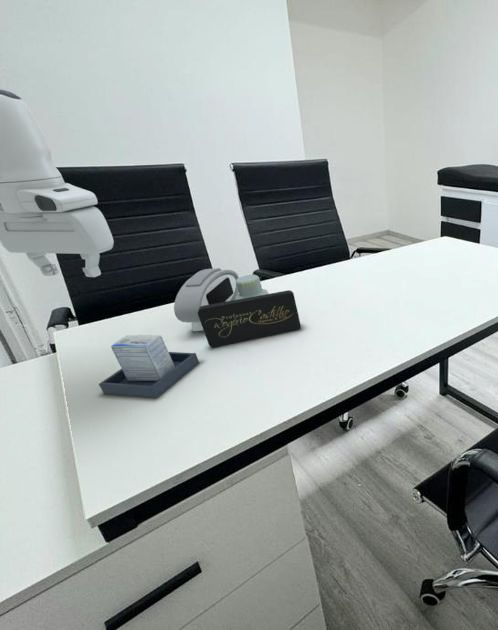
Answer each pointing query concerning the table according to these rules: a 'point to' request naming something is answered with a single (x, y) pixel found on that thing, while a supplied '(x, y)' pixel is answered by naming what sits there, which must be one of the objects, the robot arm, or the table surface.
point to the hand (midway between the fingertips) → (72, 275)
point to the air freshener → (249, 287)
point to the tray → (150, 389)
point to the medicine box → (143, 357)
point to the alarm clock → (204, 293)
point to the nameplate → (249, 318)
